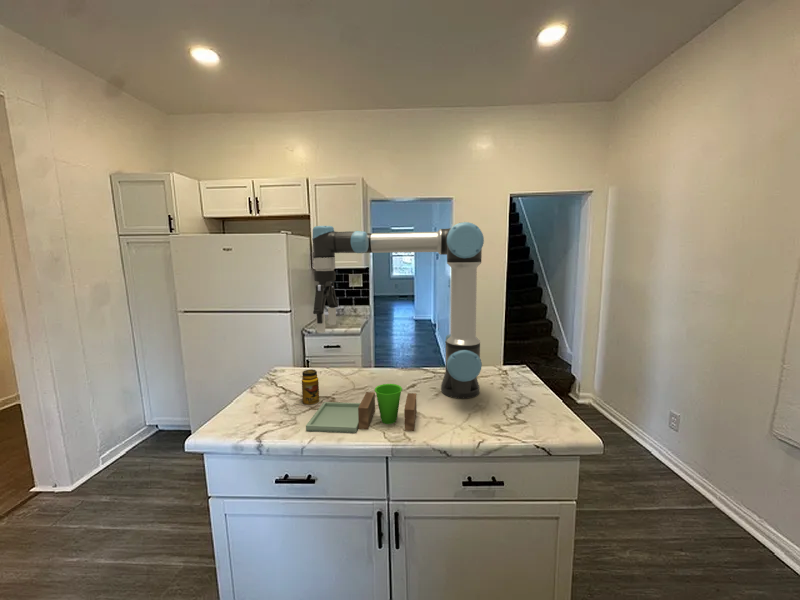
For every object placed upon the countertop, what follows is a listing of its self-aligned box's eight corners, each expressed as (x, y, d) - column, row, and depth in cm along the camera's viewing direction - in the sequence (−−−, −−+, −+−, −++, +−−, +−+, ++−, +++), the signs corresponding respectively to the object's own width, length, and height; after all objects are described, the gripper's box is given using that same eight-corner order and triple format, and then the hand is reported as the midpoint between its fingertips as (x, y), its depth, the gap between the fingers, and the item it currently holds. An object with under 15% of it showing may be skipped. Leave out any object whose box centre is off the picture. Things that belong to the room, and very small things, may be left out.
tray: (367, 408, 127) (367, 403, 127) (356, 433, 109) (356, 427, 109) (324, 406, 128) (323, 401, 128) (306, 431, 111) (305, 425, 110)
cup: (399, 428, 112) (399, 394, 110) (372, 425, 114) (371, 393, 112) (405, 415, 120) (404, 384, 119) (379, 413, 122) (378, 383, 121)
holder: (416, 412, 122) (416, 393, 122) (414, 431, 110) (414, 409, 109) (366, 411, 124) (366, 392, 123) (358, 429, 111) (358, 408, 111)
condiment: (314, 407, 128) (312, 375, 127) (293, 404, 131) (292, 373, 129) (324, 399, 135) (322, 368, 134) (304, 396, 138) (303, 367, 136)
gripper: (325, 268, 139) (327, 321, 142) (301, 271, 115) (304, 335, 117) (343, 268, 139) (345, 321, 141) (323, 271, 114) (326, 336, 117)
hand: (327, 328), depth 129 cm, fingers open, 13 cm apart
